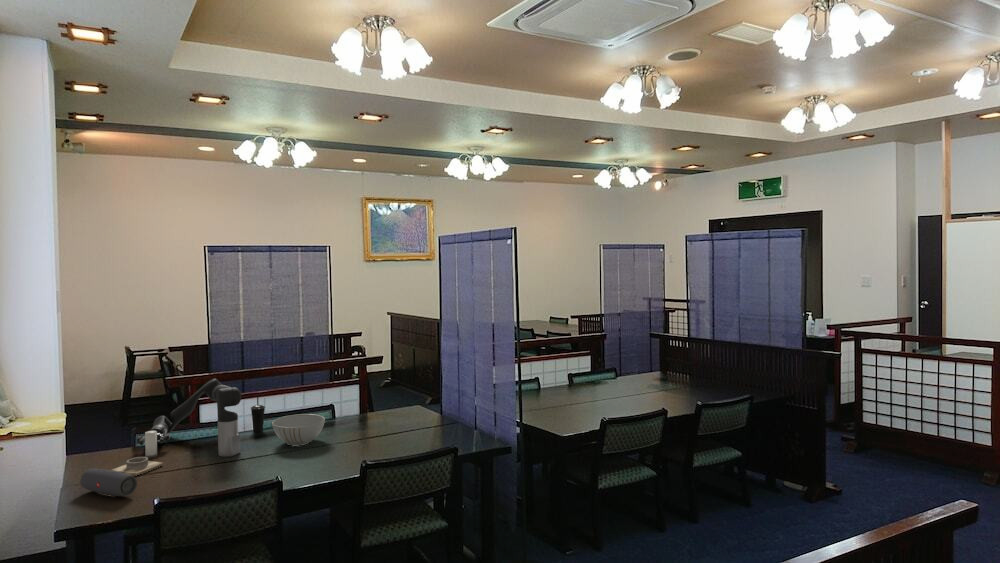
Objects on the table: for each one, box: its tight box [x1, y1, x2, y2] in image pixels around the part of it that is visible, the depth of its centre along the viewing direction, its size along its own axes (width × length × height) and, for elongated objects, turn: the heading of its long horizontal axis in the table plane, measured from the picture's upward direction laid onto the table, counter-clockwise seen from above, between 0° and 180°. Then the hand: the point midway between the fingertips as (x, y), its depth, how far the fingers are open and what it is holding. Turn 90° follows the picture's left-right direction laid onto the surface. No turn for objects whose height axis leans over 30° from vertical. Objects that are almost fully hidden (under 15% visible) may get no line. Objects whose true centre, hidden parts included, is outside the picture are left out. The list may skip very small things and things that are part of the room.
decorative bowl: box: [271, 413, 326, 446], centre depth 330 cm, size 27×27×12 cm
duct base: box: [110, 456, 164, 477], centre depth 289 cm, size 15×15×4 cm
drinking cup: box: [250, 395, 266, 433], centre depth 351 cm, size 8×8×20 cm
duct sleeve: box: [144, 430, 158, 459], centre depth 308 cm, size 5×5×12 cm
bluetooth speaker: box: [79, 468, 138, 497], centre depth 259 cm, size 23×9×10 cm, turn 69°
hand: (150, 442), depth 309 cm, fingers open, 8 cm apart
